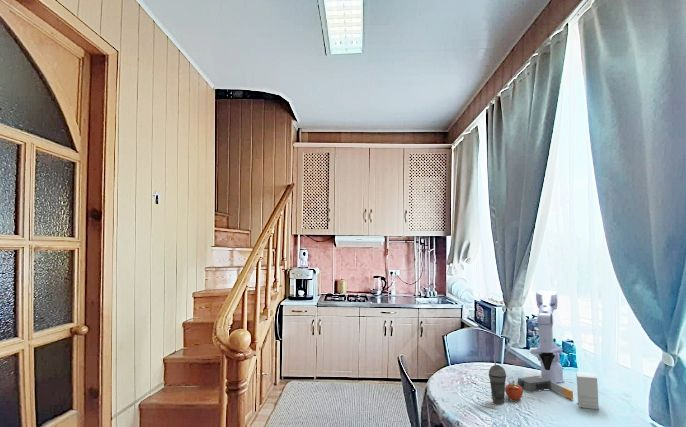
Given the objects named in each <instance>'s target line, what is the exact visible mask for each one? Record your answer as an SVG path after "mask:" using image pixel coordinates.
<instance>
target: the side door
mask: <svg viewBox="0 0 686 427" xmlns="http://www.w3.org/2000/svg"><path fill="white" fill-rule="evenodd" d="M550 384H551V389H550V390H552V391H553V392H556V393H558V394H559V395H561V396H563V397H565V398H567V399H569V400H571V401H572V400H574V390H571V389H569V388H567V387H565V386H562V385H560V384H559V383H554V382H553V381H550Z"/></svg>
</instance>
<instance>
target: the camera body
mask: <svg viewBox="0 0 686 427" xmlns="http://www.w3.org/2000/svg"><path fill="white" fill-rule="evenodd" d="M550 381H551V380H549V379H546V378H544V377H541V375H533V376H525V377H519V378H517V381H516V383H518V384H519V385H520V386H521V387H522V389H523V391H524V390H525V391H527V392H530V393H534V392H533V391H536V392H540V391H539V390H543V391H545V390H544V389H550V390H552V389H551V384H550Z"/></svg>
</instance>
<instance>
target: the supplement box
mask: <svg viewBox="0 0 686 427" xmlns="http://www.w3.org/2000/svg"><path fill="white" fill-rule="evenodd" d="M576 387H577V388H576V389H577V403H578V407H579V408H581V407H583V408H584V409H590V410H591V409H592V410H599V409H600V408H599V407H600V404H599V392H598V391H599V389H598V376H597V375H596V373H593V372H582V371H581V372H580V371H576ZM583 408H582V409H583Z"/></svg>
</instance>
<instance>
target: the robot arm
mask: <svg viewBox="0 0 686 427" xmlns="http://www.w3.org/2000/svg"><path fill="white" fill-rule="evenodd" d="M535 299H536V300H535V301H536V306H537V309H538V314H537V317H536V318H537V319H536V320H537V321H536V322H537V327H538V329H537V330H538V338H539V344H538V345H537V348H533V349H530V355H537V356H536V357H537V361H538V362H540V363H539V364H540V373H541V374H540V376H541V377H544V378H546V379H549V380H551V381H553V382H554V383H556V382H560V383H565V380H564V376H563V374H564V372H563V371H564V370H563V366H562V364H561V363H560V362H561V359H560V354H563V348H560V347H559V346H558V345H557V344H556V343H554V336H553V327H554V315H553V314H554V311H555V310H558V292H557V291H556V290H555V291H550V290H548V291H547V290H536V293H535ZM556 384H557V383H556Z"/></svg>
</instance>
